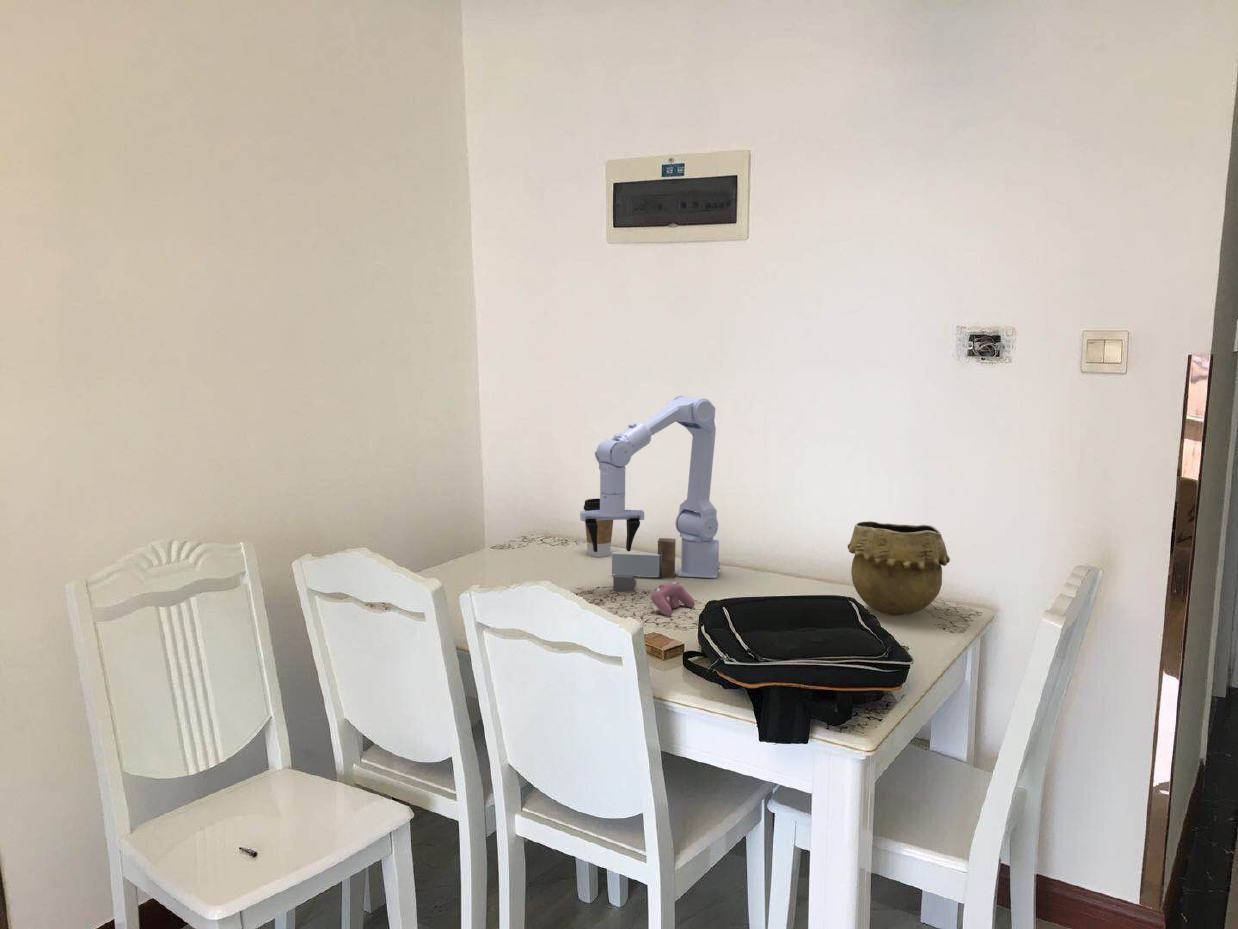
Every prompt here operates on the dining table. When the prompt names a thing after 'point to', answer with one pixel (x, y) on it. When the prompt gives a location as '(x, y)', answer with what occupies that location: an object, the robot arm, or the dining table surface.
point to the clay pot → (897, 566)
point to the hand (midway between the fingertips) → (611, 550)
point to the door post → (667, 557)
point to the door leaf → (636, 564)
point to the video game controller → (670, 597)
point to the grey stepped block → (624, 583)
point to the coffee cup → (599, 532)
